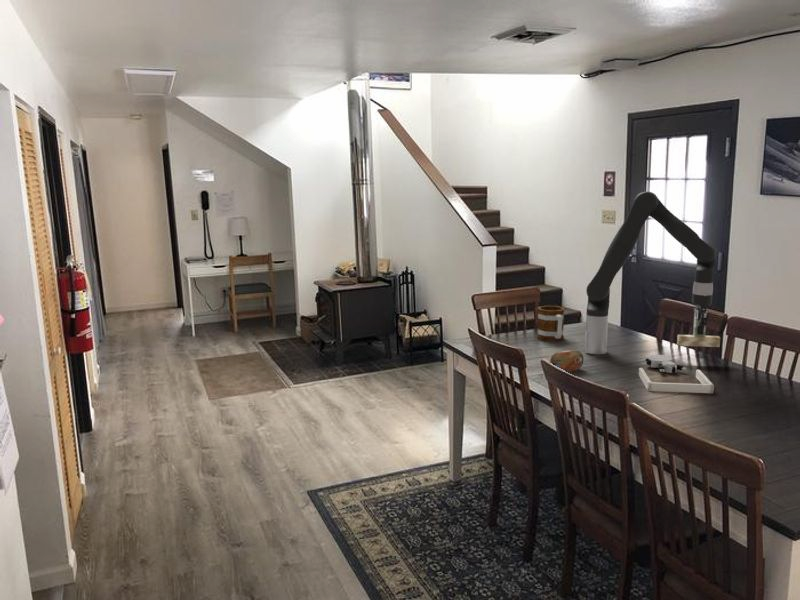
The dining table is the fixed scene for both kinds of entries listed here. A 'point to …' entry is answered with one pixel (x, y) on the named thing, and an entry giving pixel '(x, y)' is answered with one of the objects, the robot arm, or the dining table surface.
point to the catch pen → (678, 384)
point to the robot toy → (663, 363)
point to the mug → (550, 323)
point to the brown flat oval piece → (567, 360)
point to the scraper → (698, 338)
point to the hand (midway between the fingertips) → (699, 333)
